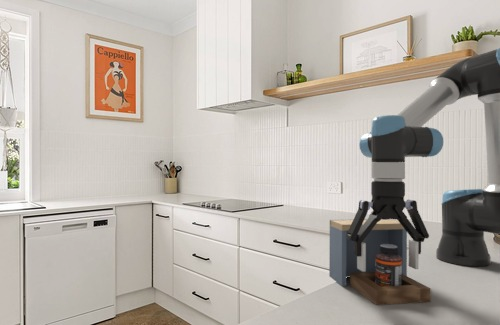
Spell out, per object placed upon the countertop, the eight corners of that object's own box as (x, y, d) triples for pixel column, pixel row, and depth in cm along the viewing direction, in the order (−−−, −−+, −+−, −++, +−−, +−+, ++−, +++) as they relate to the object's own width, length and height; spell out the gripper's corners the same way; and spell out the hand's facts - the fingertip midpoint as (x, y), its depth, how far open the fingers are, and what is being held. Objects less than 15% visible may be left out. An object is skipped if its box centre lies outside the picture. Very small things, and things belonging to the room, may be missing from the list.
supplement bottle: (370, 292, 83) (370, 245, 83) (381, 286, 87) (381, 241, 87) (395, 299, 79) (395, 249, 79) (405, 293, 83) (406, 245, 83)
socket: (396, 282, 91) (396, 271, 91) (430, 301, 78) (430, 288, 78) (350, 284, 88) (350, 273, 88) (376, 304, 76) (376, 291, 76)
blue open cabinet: (389, 273, 98) (389, 218, 99) (406, 282, 90) (406, 223, 91) (329, 276, 95) (329, 219, 96) (341, 286, 88) (341, 224, 88)
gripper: (424, 179, 89) (424, 262, 89) (332, 179, 85) (332, 266, 85) (445, 180, 82) (445, 271, 81) (345, 180, 78) (345, 275, 77)
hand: (387, 268), depth 83 cm, fingers open, 13 cm apart
